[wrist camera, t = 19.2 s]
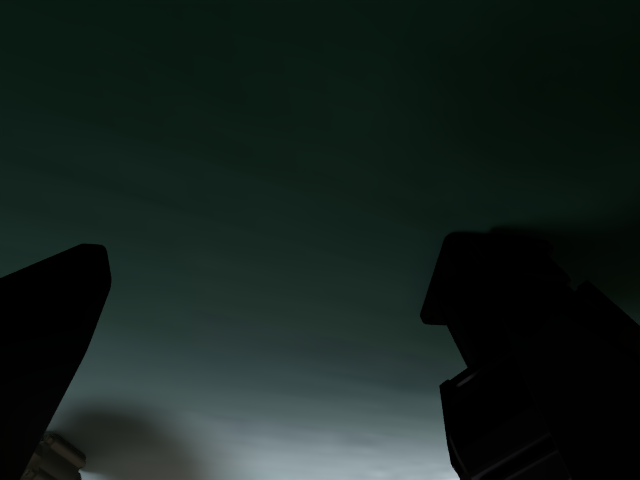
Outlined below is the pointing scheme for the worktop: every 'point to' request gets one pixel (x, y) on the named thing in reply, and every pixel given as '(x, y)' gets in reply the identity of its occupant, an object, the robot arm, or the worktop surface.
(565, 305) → the robot arm
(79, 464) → the pneumatic valve
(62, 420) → the worktop surface
